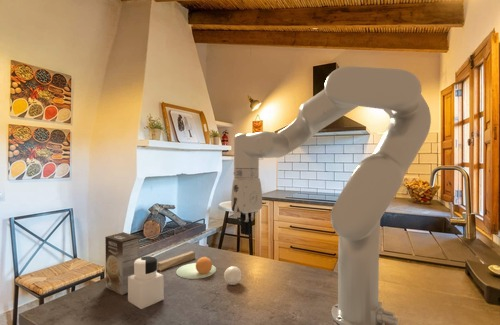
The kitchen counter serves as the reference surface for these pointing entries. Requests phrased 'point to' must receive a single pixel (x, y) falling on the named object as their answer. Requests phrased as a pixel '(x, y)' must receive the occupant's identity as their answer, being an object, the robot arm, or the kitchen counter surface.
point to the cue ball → (232, 275)
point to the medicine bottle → (145, 283)
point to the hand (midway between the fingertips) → (246, 233)
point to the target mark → (193, 272)
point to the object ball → (203, 265)
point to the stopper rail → (175, 260)
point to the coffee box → (120, 260)
